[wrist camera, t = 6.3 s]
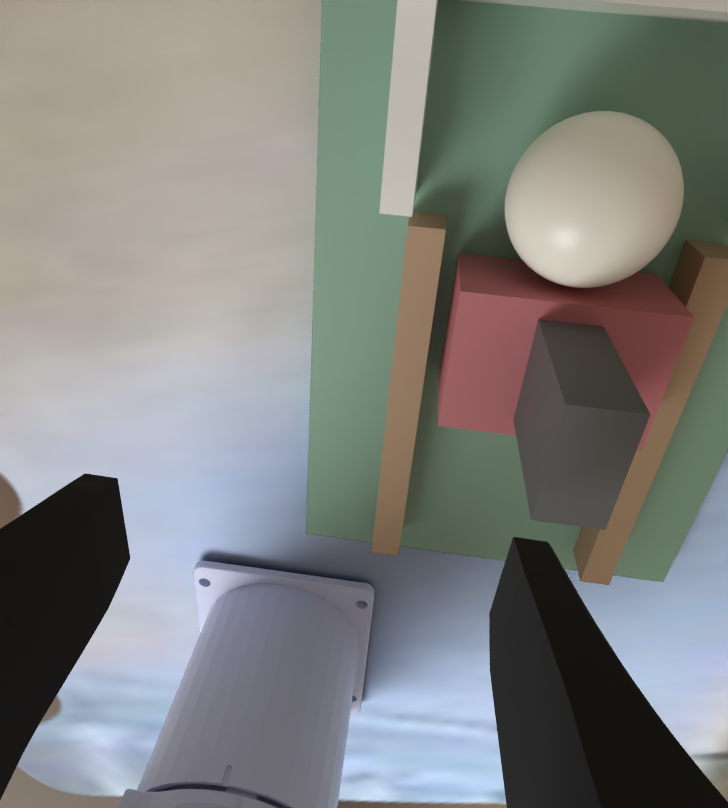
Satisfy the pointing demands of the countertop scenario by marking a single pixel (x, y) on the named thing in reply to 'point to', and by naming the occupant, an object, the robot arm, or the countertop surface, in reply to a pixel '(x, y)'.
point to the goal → (413, 71)
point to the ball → (594, 199)
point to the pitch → (487, 235)
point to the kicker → (560, 376)
